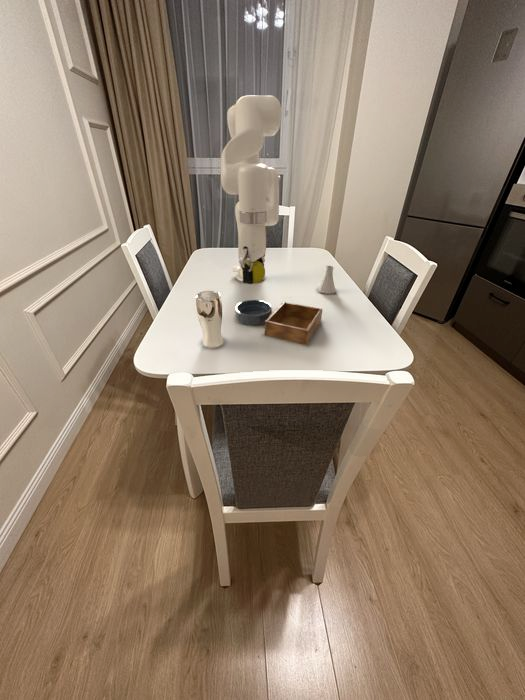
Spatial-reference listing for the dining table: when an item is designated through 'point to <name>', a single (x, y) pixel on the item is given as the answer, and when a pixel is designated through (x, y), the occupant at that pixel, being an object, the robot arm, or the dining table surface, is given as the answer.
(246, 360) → the dining table surface
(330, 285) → the flask
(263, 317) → the bowl
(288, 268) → the dining table surface
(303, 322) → the wooden box
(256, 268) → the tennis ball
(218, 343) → the beer glass
